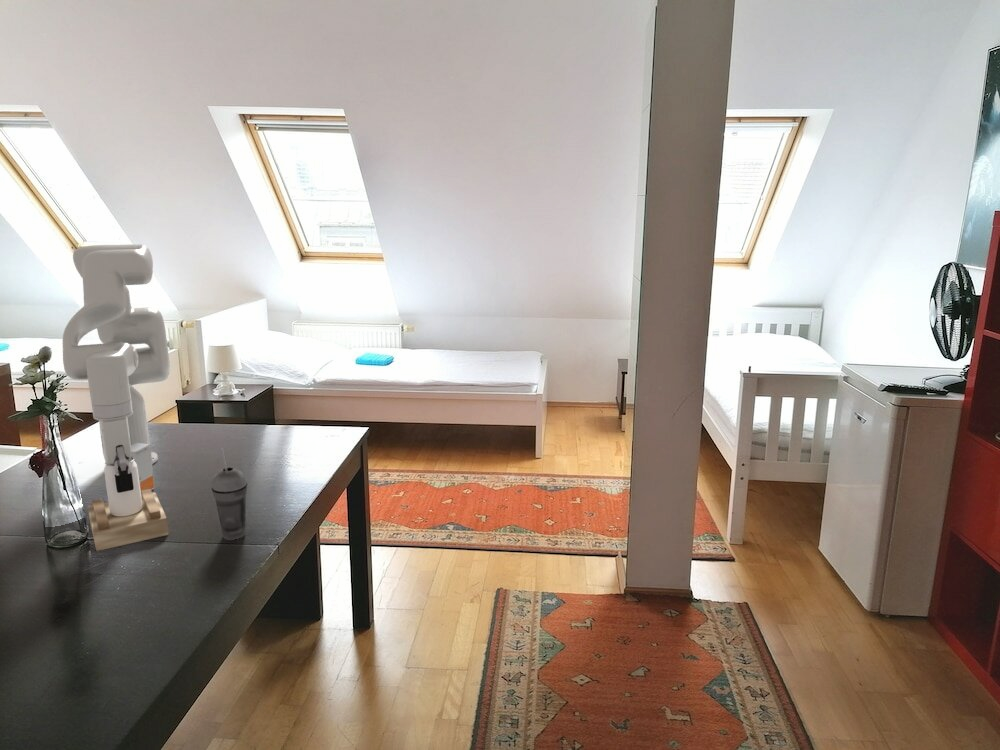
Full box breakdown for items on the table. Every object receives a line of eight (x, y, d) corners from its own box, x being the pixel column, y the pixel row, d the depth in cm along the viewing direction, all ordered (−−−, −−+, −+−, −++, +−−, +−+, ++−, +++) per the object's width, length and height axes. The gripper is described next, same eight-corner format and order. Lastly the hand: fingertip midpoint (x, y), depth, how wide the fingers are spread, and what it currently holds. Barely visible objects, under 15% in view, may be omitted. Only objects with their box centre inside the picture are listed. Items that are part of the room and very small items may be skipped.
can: (110, 520, 158) (102, 468, 155) (110, 508, 163) (102, 458, 160) (143, 514, 161) (136, 462, 158) (142, 502, 166) (135, 453, 163)
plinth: (89, 522, 166) (86, 499, 164) (157, 508, 173) (154, 486, 172) (96, 551, 153) (92, 527, 151) (168, 534, 160) (165, 511, 159)
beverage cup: (231, 546, 155) (222, 457, 150) (209, 537, 159) (200, 451, 154) (258, 533, 161) (251, 447, 156) (236, 525, 165) (229, 441, 160)
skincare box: (140, 498, 178) (134, 452, 175) (124, 496, 179) (118, 450, 176) (156, 488, 184) (150, 443, 181) (141, 487, 185) (135, 442, 182)
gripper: (89, 400, 161) (99, 472, 166) (96, 423, 147) (107, 501, 152) (126, 395, 165) (136, 466, 170) (137, 417, 151) (147, 493, 156)
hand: (122, 482), depth 161 cm, fingers open, 9 cm apart
